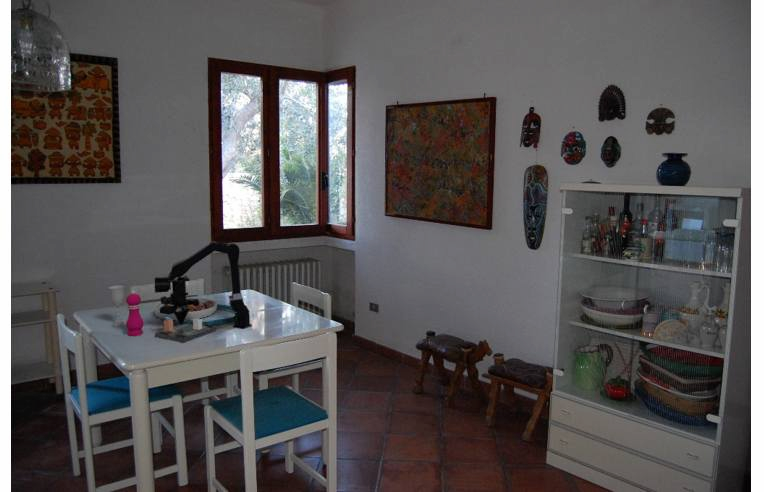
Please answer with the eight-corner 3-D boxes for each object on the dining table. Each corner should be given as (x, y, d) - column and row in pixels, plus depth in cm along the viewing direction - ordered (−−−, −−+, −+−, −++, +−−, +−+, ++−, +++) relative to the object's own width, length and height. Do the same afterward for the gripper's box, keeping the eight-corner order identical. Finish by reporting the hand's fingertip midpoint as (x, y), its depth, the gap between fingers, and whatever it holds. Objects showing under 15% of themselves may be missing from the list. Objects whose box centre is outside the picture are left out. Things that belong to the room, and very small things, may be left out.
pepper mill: (137, 337, 257) (135, 292, 254) (123, 336, 258) (120, 291, 255) (147, 332, 264) (145, 289, 261) (133, 331, 265) (130, 288, 262)
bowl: (143, 321, 282) (142, 305, 281) (172, 306, 312) (171, 291, 311) (202, 324, 279) (201, 308, 278) (226, 308, 308) (225, 293, 307)
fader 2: (202, 328, 262) (201, 318, 261) (198, 329, 260) (198, 320, 259) (197, 327, 263) (196, 317, 263) (193, 328, 261) (192, 319, 261)
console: (216, 330, 267) (216, 325, 267) (184, 342, 250) (184, 336, 249) (188, 325, 275) (188, 320, 275) (155, 337, 257) (154, 331, 257)
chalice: (130, 323, 277) (128, 286, 274) (118, 327, 271) (116, 289, 268) (119, 321, 280) (117, 285, 278) (107, 325, 274) (104, 287, 271)
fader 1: (173, 329, 259) (172, 320, 259) (169, 331, 257) (168, 321, 256) (168, 329, 261) (167, 319, 260) (164, 330, 258) (163, 320, 258)
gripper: (181, 285, 274) (182, 317, 277) (149, 293, 258) (151, 327, 260) (199, 287, 270) (200, 320, 272) (168, 296, 253) (170, 330, 255)
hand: (181, 324), depth 265 cm, fingers closed
